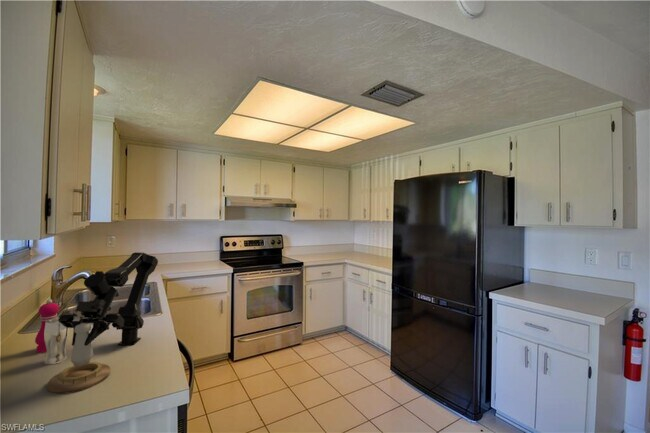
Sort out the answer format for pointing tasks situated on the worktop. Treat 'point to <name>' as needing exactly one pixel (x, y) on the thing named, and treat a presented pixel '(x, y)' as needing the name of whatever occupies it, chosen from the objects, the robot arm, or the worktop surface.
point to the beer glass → (55, 341)
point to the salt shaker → (81, 346)
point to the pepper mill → (46, 313)
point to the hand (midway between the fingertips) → (79, 345)
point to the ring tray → (77, 386)
